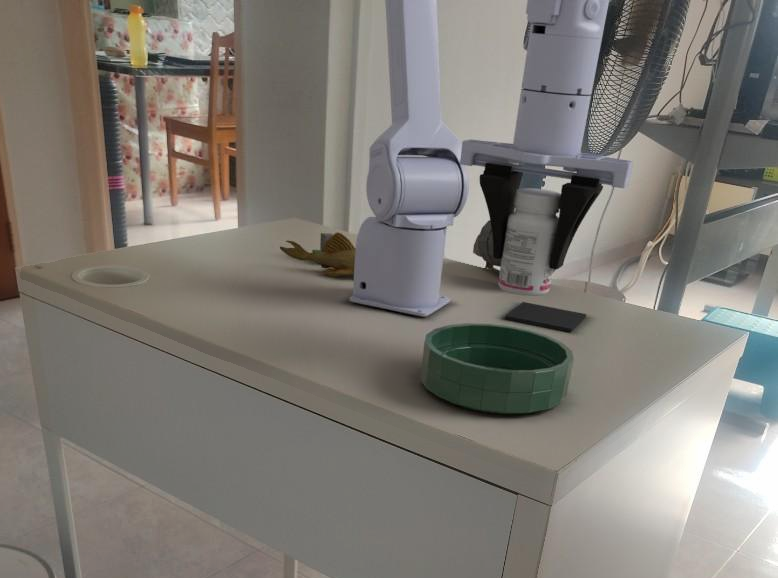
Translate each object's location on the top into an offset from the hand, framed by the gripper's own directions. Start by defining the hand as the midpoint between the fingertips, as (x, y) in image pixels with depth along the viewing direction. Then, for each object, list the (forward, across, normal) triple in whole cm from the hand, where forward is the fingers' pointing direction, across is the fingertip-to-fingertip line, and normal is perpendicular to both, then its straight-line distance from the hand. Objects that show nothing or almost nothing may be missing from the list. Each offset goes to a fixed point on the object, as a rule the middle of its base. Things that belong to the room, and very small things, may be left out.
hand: (527, 261), depth 76 cm
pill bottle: (+3, 0, 0) cm, 3 cm away
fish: (+10, -30, +19) cm, 36 cm away
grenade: (+5, -5, +28) cm, 29 cm away
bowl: (+10, +1, -8) cm, 12 cm away
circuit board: (+8, -32, +29) cm, 43 cm away
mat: (+10, -1, +18) cm, 20 cm away
